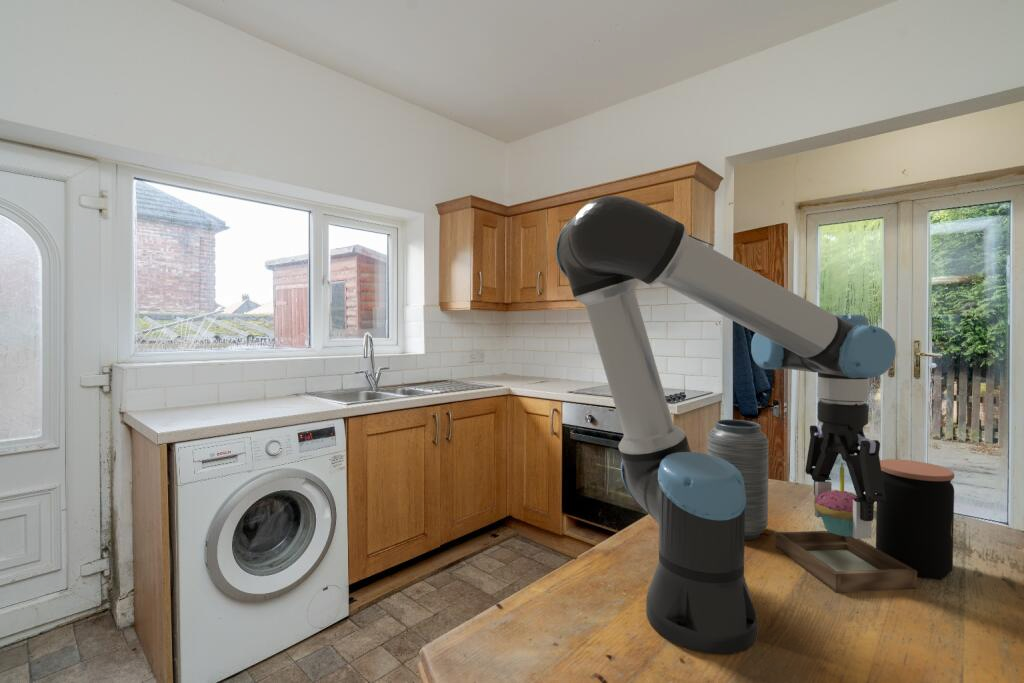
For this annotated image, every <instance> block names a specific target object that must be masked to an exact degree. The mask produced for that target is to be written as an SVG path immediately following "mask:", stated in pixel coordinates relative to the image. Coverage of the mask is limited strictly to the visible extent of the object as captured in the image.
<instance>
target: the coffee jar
mask: <svg viewBox="0 0 1024 683" xmlns="http://www.w3.org/2000/svg"><path fill="white" fill-rule="evenodd" d="M880 465H881V472H882V478H883V484H884V491H885V497H886V500H885V501H877V502H876V511H875V512H876V513H875V514H876V518H875V519H876V520H875V521H876V523H875V548H877V549H878V550H880V551H882V552H884V553H886V554H887V555H889V556H891V557H893V558H895V559H896V560H898V561H900V562H902V563H904V564H905V565H907V566H909V567H911V568H913V569H914V570H916V571H917V579H918V578H919V579H925V580H941V579H945V578H946V577H948V576H949V575H950V574H951V573H952V572H953V568H954V567H953V565H954V564H953V563H954V524H955V522H954V521H955V518H954V516H955V487H954V485H953V484H952V481H953V480H954V479H955V473H954V471H953V470H951V469H949V468H947V467H944V466H942V465H938V464H932V463H928V462H925V461H924V462H923V461H917V460H911V459H910V460H908V459H897V458H896V459H890V458H889V459H880Z"/></svg>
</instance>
